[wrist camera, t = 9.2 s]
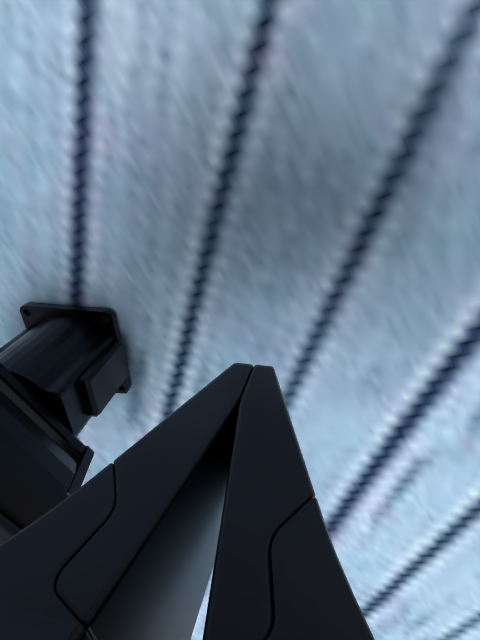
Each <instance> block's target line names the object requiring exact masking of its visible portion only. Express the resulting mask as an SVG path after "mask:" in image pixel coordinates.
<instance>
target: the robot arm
mask: <svg viewBox="0 0 480 640" xmlns="http://www.w3.org/2000/svg"><path fill="white" fill-rule="evenodd" d="M29 311H30V312H29ZM20 312H21V315H22V318H23V321H24V323H25V326H26V330H24V331H23V332H22V333H20V334H19V335H18V336H16V337H15V338H14V339H12V340H11V341H10V342H8V343H7V344H5V345H4V346H3V347H1V348H0V640H190V639H191V636H192V633H193V629H194V626H195V623H196V620H197V616H198V613H199V610H200V607H201V603H202V600H203V597H204V594H205V590H206V587H207V584H208V581H209V577H210V574H211V571H212V567H213V564H214V569H213V576H212V582H211V589H210V595H209V602H208V608H207V615H206V621H205V628H204V634H203V640H375V639H374V637H373V635H372V633H371V631H370V628H369V626H368V624H367V622H366V620H365V618H364V616H363V613H362V611H361V609H360V607H359V605H358V603H357V601H356V598H355V596H354V594H353V592H352V589H351V587H350V585H349V583H348V580H347V578H346V576H345V573H344V571H343V569H342V566H341V564H340V562H339V559H338V557H337V555H336V552H335V549H334V547H333V544H332V541H331V538H330V536H329V533H328V530H327V527H326V525H325V522H324V519H323V516H322V513H321V510H320V507H319V504H318V501H317V499H316V498H315V493H314V490H313V486H312V483H311V480H310V477H309V474H308V471H307V468H306V465H305V462H304V459H303V456H302V453H301V450H300V447H299V444H298V441H297V438H296V434H295V431H294V428H293V425H292V422H291V419H290V416H289V413H288V410H287V407H286V404H285V401H284V398H283V395H282V392H281V389H280V386H279V382H278V379H277V376H276V373H275V370H274V368H273V367H272V366H263V365H255V366H254V367H253V365H251V364H243V363H234V364H233V365H231V366H230V367H229V368H228V369H226V370H225V371H224V372H223V373H222V374H220V375H219V376H218V377H217V378H215V379H214V380H213V381H212V382H210V383H209V384H208V385H207V386H206V387H204V388H203V389H202V390H201V391H199V392H198V393H197V394H196V395H194V396H193V397H192V398H191V399H189V400H188V401H187V402H186V403H185V404H183V405H182V406H181V407H180V408H178V409H177V410H176V411H175V412H173V413H172V414H171V415H170V416H169V417H167V418H166V419H165V420H164V421H162V422H161V423H160V424H159V425H157V426H156V427H155V428H154V429H153V430H151V431H150V432H149V433H148V434H146V435H145V436H144V437H143V438H141V439H140V440H139V441H138V442H136V443H135V444H134V445H133V446H132V447H130V448H129V449H128V450H127V451H125V452H124V453H123V454H122V455H120V456H119V457H118V458H117V459H116V460H115V461H114V464H112V463H111V464H109V465H108V466H107V467H105V468H104V469H103V470H102V471H100V472H99V473H98V474H97V475H96V476H94V477H93V478H92V479H90V480H89V481H88V482H87V483H85V484H84V485H83V486H81V485H82V483H83V480H84V478H85V475H86V473H87V470H88V468H89V465H90V463H91V460H92V458H93V455H94V451H93V450H92V449H91V448H90V447H89V446H85V445H84V444H83V443H82V442H81V441H80V440H79V439H78V438H77V435H78V434H79V433H80V431H81V430H82V429H83V427H84V426H85V425H86V423H87V422H88V421H89V419H90V418H91V417H92V416H95V417H97V416H98V415H99V414H100V413H101V412H102V410H103V409H104V408H105V406H106V405H107V404H108V402H109V401H110V399H111V398H112V397H113V395H114V394H115V393H127V392H128V391H129V389H130V388H131V384H130V379H129V369H128V364H127V360H126V355H125V351H124V346H123V343H122V342H121V338H120V333H119V328H118V324H117V319H116V316H115V314H114V312H113V311H111V310H109V309H102V308H89V307H76V306H63V305H50V304H37V303H26V304H25V305H23V306H22V307H21V308H20ZM105 316H107V317H108V318H109V319H107V318H106V317H105ZM123 386H124V387H123ZM214 561H215V563H214Z"/></svg>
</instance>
